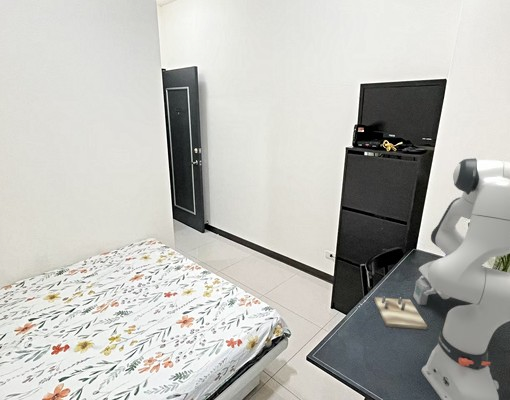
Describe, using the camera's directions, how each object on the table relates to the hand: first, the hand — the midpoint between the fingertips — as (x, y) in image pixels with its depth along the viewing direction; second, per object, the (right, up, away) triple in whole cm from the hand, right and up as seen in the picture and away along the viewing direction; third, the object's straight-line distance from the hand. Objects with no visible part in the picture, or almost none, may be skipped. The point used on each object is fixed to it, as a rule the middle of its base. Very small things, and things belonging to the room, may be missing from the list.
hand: (420, 289), depth 126 cm
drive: (+1, -6, +2) cm, 6 cm away
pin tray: (-13, -8, -7) cm, 17 cm away
